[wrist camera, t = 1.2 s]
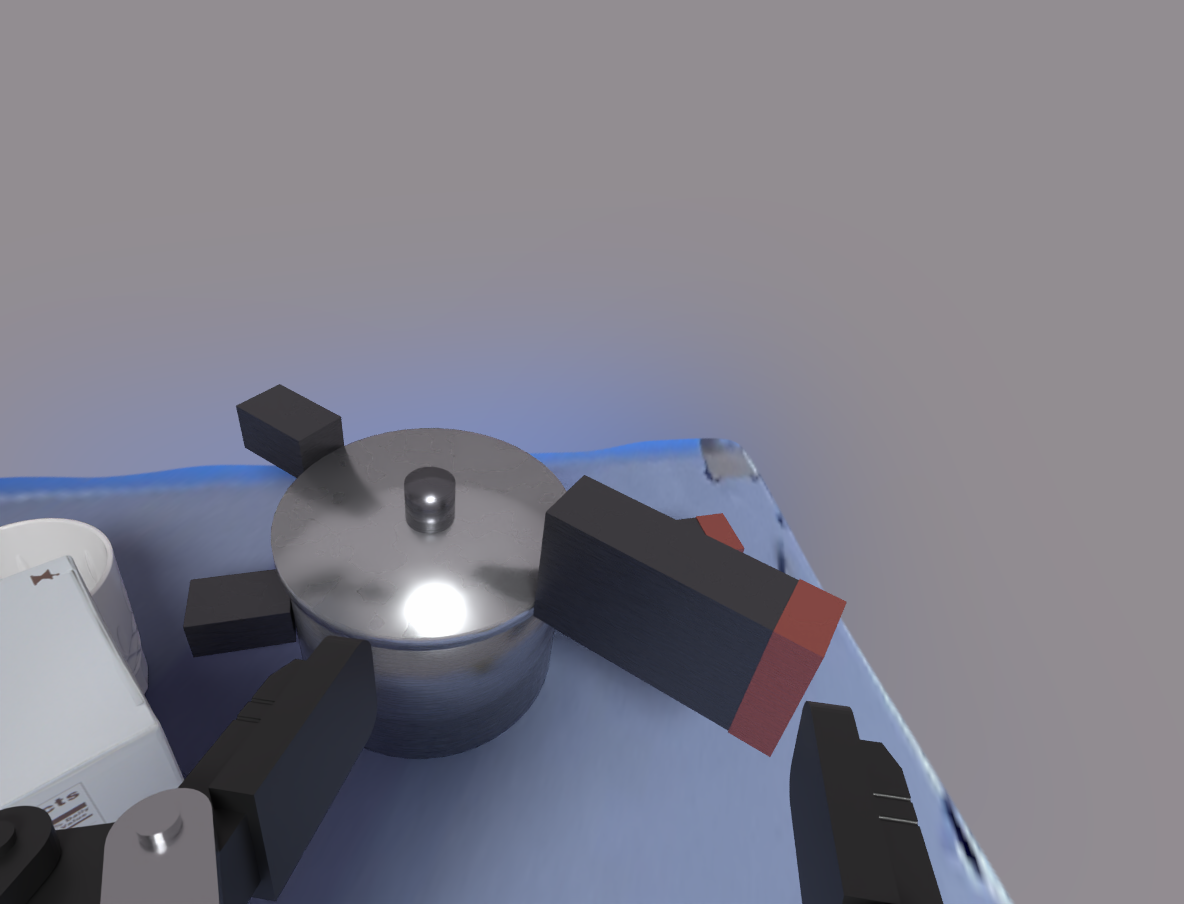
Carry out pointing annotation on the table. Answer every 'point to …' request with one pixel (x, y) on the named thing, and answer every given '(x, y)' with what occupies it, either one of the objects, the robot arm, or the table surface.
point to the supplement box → (72, 706)
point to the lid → (529, 564)
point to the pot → (400, 661)
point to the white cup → (97, 565)
